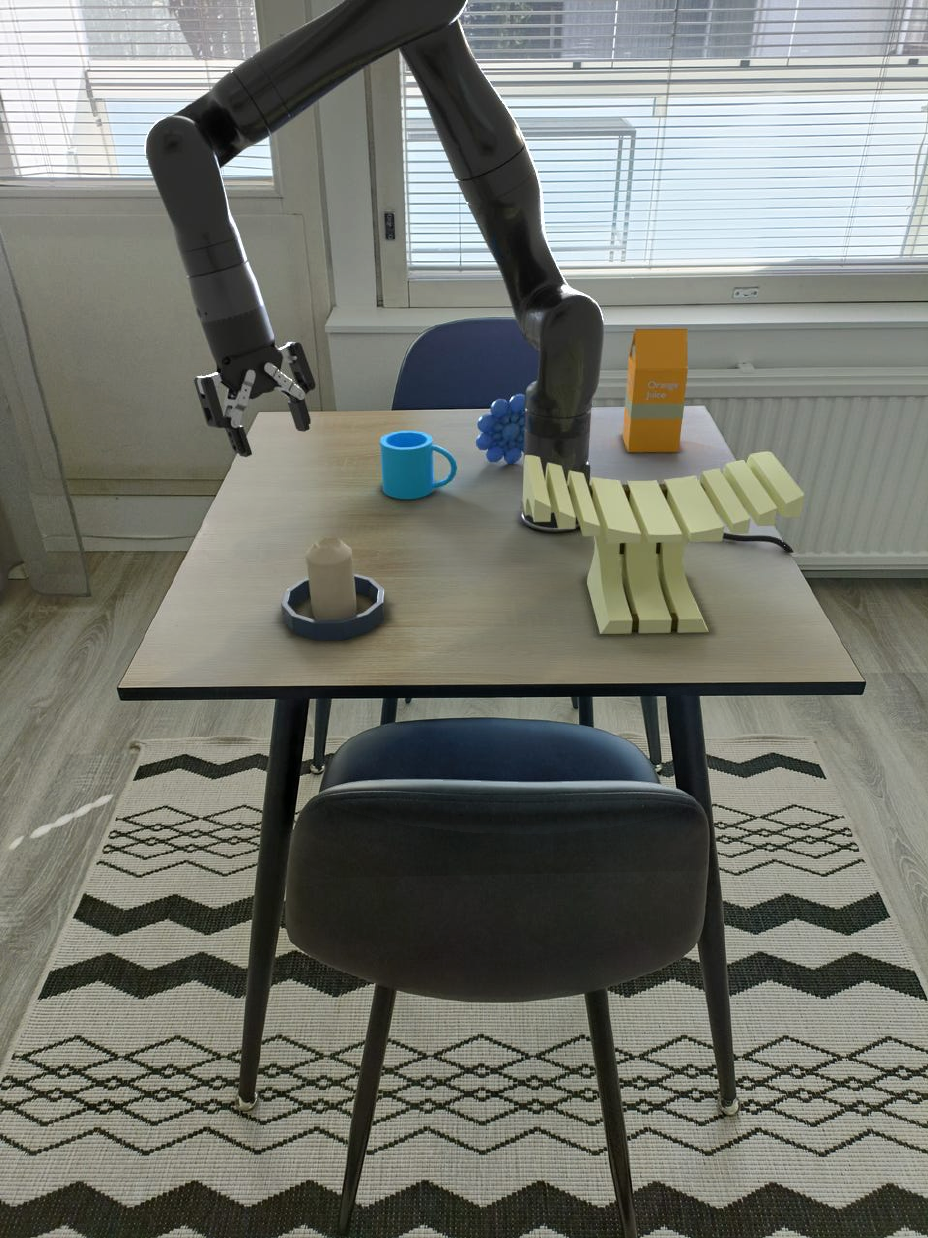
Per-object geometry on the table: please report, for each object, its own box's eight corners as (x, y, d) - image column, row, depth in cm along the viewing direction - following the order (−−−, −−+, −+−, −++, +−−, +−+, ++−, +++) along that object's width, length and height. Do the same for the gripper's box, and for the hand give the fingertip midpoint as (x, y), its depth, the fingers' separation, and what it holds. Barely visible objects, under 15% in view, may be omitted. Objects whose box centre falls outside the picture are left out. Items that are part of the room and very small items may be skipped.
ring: (386, 588, 125) (385, 571, 124) (381, 639, 115) (380, 621, 114) (291, 590, 125) (289, 573, 124) (278, 641, 115) (275, 623, 113)
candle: (349, 627, 117) (343, 554, 112) (306, 622, 118) (298, 550, 113) (362, 604, 122) (357, 533, 117) (321, 600, 123) (313, 530, 118)
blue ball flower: (543, 453, 165) (545, 385, 159) (546, 468, 159) (548, 398, 153) (475, 454, 165) (475, 385, 159) (476, 469, 159) (475, 399, 153)
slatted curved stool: (743, 568, 129) (763, 442, 120) (778, 631, 116) (804, 494, 106) (521, 571, 129) (524, 445, 120) (530, 635, 115) (534, 498, 106)
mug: (377, 497, 150) (374, 447, 146) (389, 477, 157) (387, 429, 153) (452, 502, 148) (451, 452, 144) (461, 481, 155) (461, 433, 151)
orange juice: (679, 452, 165) (692, 334, 155) (627, 452, 165) (637, 335, 155) (671, 435, 172) (683, 322, 161) (621, 435, 172) (630, 322, 161)
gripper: (192, 328, 104) (241, 468, 111) (299, 290, 111) (338, 424, 118) (162, 328, 109) (211, 461, 117) (266, 292, 116) (306, 419, 124)
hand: (275, 442), depth 117 cm, fingers open, 8 cm apart
